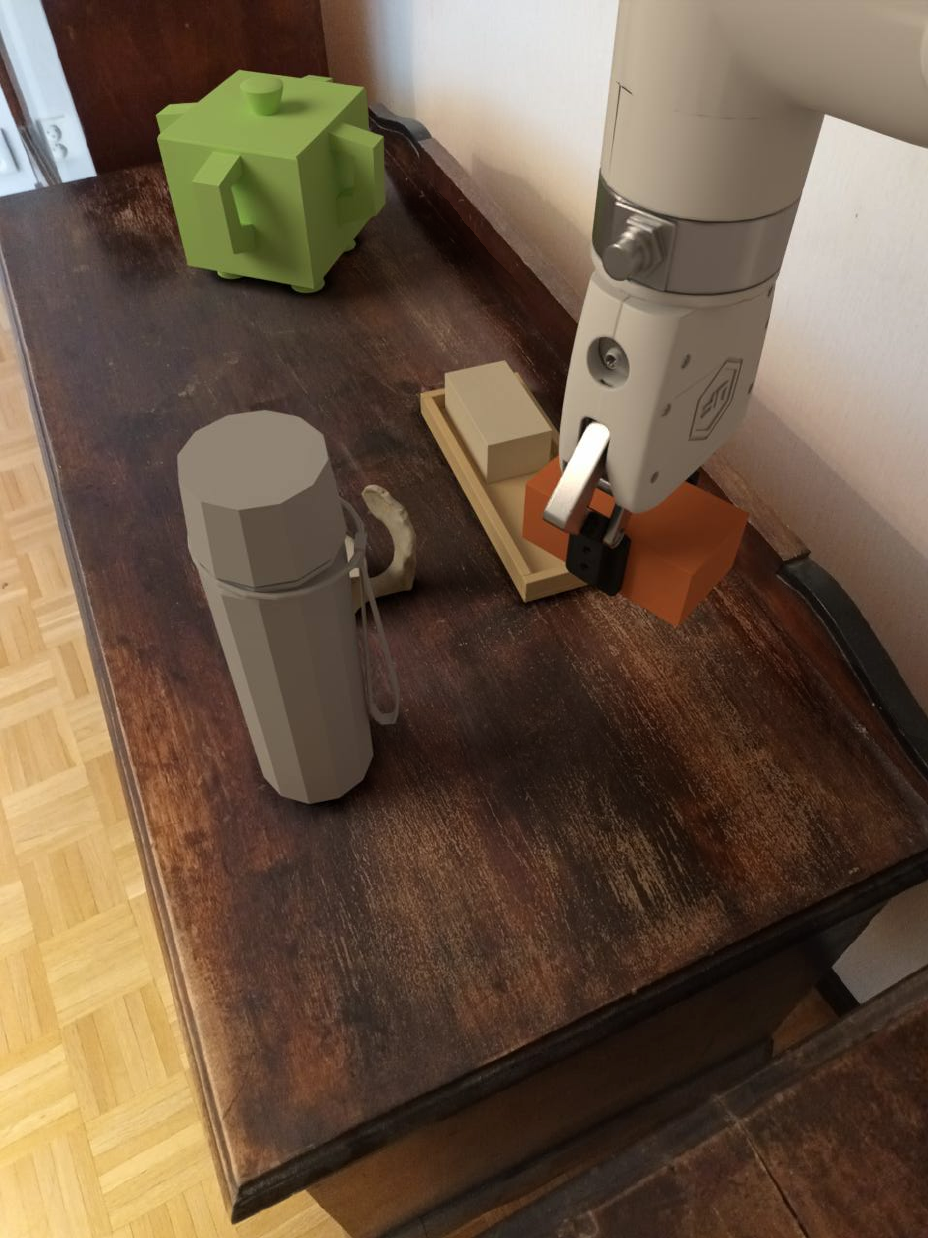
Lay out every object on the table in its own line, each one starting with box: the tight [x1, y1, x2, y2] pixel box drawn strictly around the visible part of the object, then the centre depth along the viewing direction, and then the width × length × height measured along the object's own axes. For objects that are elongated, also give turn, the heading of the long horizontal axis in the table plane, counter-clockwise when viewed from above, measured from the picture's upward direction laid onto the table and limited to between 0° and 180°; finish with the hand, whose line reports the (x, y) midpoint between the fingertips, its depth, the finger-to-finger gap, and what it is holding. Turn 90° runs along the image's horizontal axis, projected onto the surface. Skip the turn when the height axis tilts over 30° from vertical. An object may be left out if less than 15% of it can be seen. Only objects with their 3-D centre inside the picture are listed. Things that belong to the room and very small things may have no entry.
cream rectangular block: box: [444, 359, 552, 484], centre depth 77 cm, size 10×6×4 cm, turn 20°
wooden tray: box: [419, 371, 589, 603], centre depth 74 cm, size 24×9×2 cm, turn 20°
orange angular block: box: [522, 455, 750, 628], centre depth 48 cm, size 10×6×4 cm, turn 50°
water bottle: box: [176, 409, 401, 805], centre depth 49 cm, size 9×8×25 cm
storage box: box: [155, 69, 387, 294], centre depth 91 cm, size 25×23×17 cm
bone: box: [345, 484, 417, 614], centre depth 65 cm, size 9×6×10 cm
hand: (626, 545), depth 49 cm, fingers closed on orange angular block, 5 cm apart
